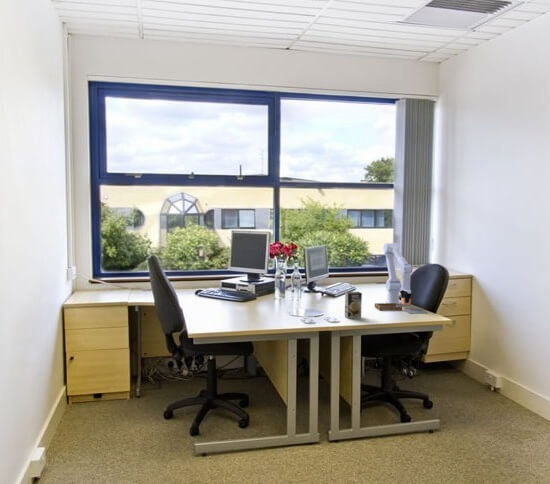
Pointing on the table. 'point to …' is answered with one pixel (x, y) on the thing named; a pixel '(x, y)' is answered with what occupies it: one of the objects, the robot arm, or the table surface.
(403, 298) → the block
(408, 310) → the mat
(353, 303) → the coffee box
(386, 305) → the cubby
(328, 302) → the table surface
